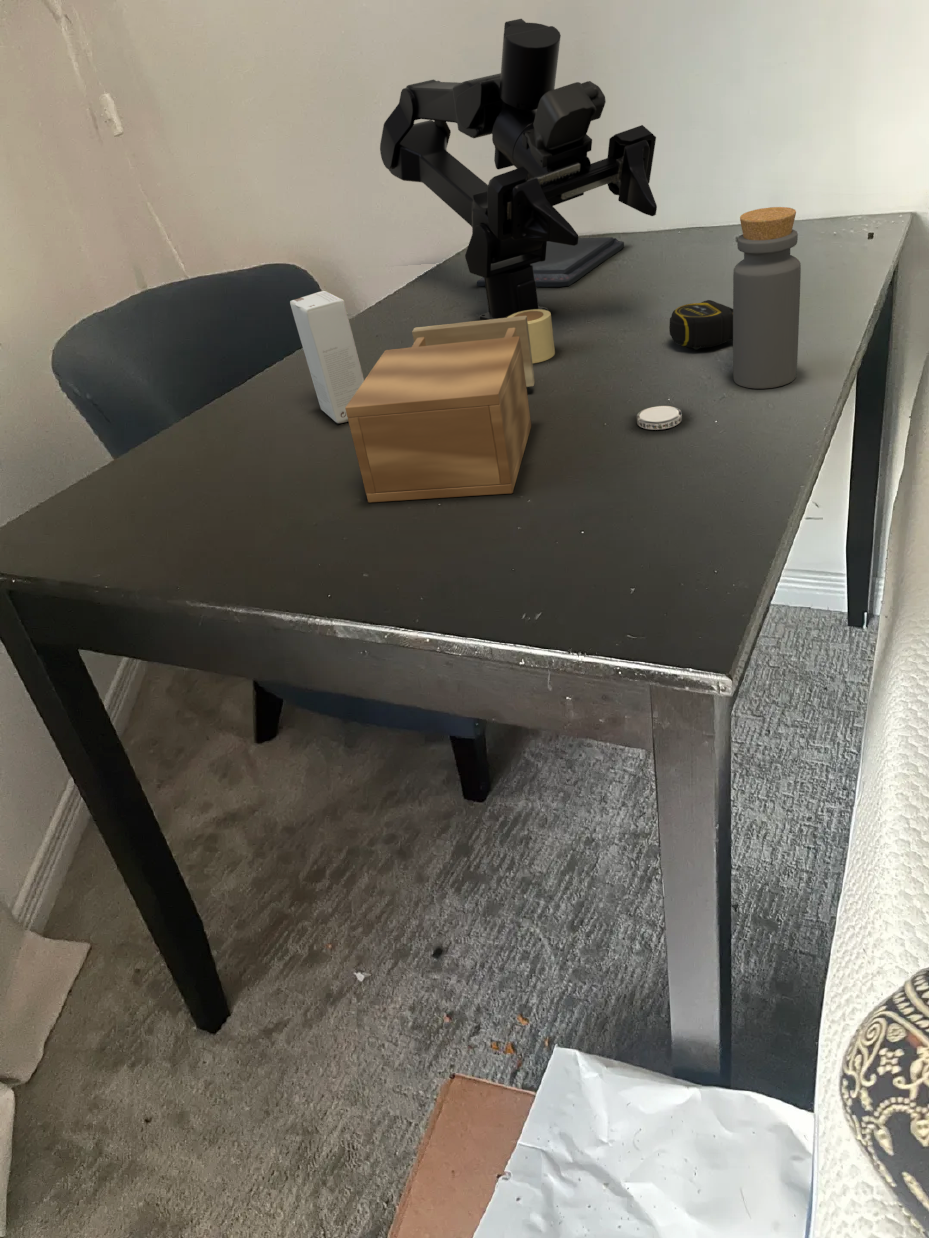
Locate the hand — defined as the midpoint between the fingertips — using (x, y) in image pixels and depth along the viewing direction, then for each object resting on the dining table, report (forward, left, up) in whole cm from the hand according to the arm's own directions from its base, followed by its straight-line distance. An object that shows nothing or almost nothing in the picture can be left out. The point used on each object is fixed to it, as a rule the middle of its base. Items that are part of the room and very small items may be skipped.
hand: (616, 226), depth 93 cm
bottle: (+16, +3, -14) cm, 21 cm away
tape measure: (+4, +8, -14) cm, 17 cm away
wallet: (-38, +21, -14) cm, 46 cm away
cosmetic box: (-15, -27, -14) cm, 34 cm away
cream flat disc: (+15, -10, -14) cm, 22 cm away
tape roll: (-10, -5, -14) cm, 18 cm away
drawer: (-3, -18, -13) cm, 22 cm away
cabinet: (+6, -27, -14) cm, 30 cm away
